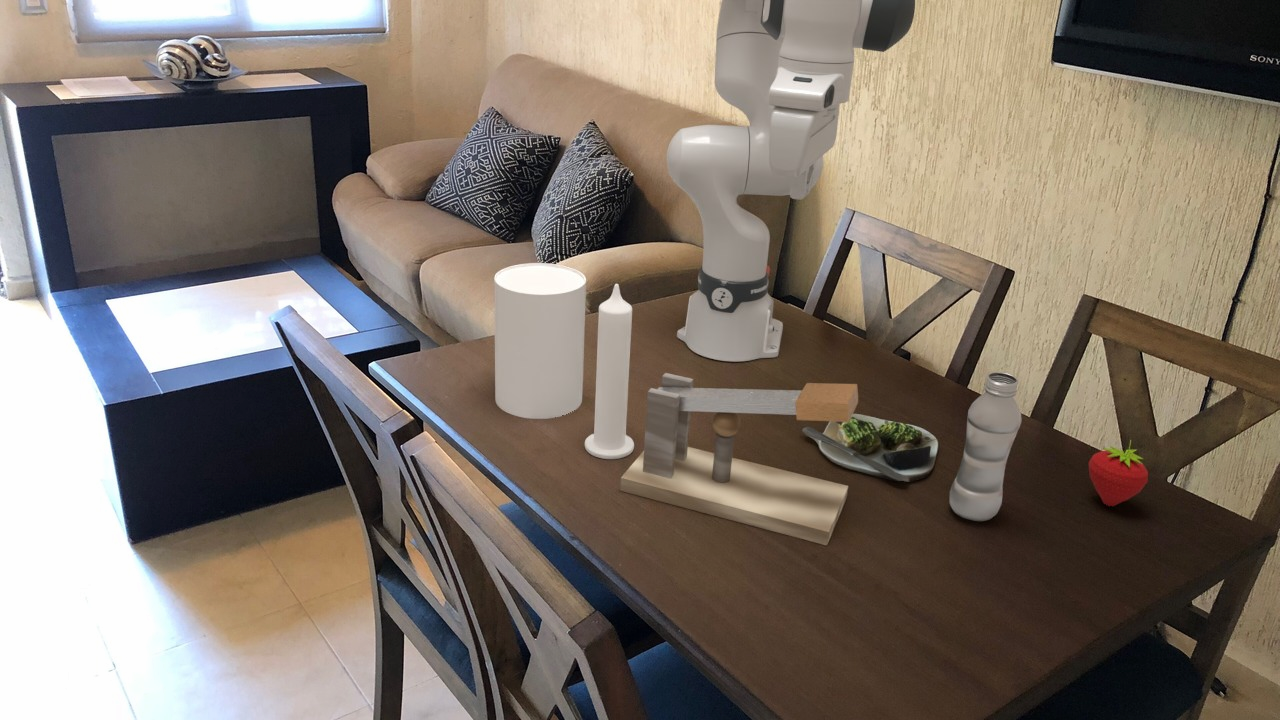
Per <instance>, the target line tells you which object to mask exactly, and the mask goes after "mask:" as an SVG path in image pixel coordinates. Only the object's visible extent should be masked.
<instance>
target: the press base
mask: <svg viewBox="0 0 1280 720" xmlns="http://www.w3.org/2000/svg"><path fill="white" fill-rule="evenodd" d="M660 387H675V388H694V378H691V377H685V376H682V375H676V374H672V373H667V372H665V373H664V374H663V375H662V376H661V386H660ZM679 400H680V394H675V393H671V392H666V391H662V390H658V388H653V387H651V388H650V389H649V390H648V391H647V398H646V414H645V416H646V417H645V429H644V443H643V451H642V452H641V453H640V455H638V457H637V458H636V459H635V461H633V463H632V464H631V465H630V466H629V467H628V468H627V470H626V471H625V472H624V473H623V475H622V476H621V477H620V484H619V485H620V487H619V489H620V491H621V492H624V493H628V494H631V495H634V496H639V497H642V498H643V497H644V498H646V499H650V500H655V501H657V502H662V503H665V504H669V505H672V506H673V505H674V506H677V507H680V508H685V509H688V510H692V511H696V512H698V513H703V514H706V515H710V516H714V517H717V518H721V519H726V520H729V521H733V522H736V523H740V524H744V525H749V526H751V527H752V526H753V527H756V528H759V529H763V530H766V531H769V532H770V531H771V532H775V533H779V534H782V535H787V536H789V537H793V538H796V539H801V540H804V541H808V542H812V543H816V544H820V545H822V546H823V545H824V546H828V545H829V541H830V539H831V537H832V535H833V532H834V530H835V527H836V524H837V522H838V520H839V518H840V515H841V513H842V510H843V508H844V505H845V503H846V500H847V497H848V492H849V485H845V484H842V483H837V482H834V481H830V480H825V479H821V478H817V477H813V476H809V475H804V474H801V473H797V472H792V471H788V470H785V469H780V468H776V467H774V466H773V467H772V466H768V465H764V464H760V463H756V462H751V461H747V460H744V459H739V458H735V457H733V452H734V442H735V434H737V433H738V431H739V430H740V427H741V418H740V416H739V415H738V413H728V412H715V414H714V416H713V419H712V427H713V430H714V431H715V432H716V433H715V441H714V442H715V444H714V451H713V452H712V451H711V452H710V451H706V450H703V449H699V448H695V447H690V446H689V445H688V444H689V436H690V435H689V433H690V422H691V413H692V411H679Z"/></svg>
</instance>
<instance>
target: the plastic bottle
mask: <svg viewBox="0 0 1280 720" xmlns="http://www.w3.org/2000/svg"><path fill="white" fill-rule="evenodd" d="M1018 385H1019V383H1018V378H1017V377H1016V376H1015V375H1012V374H1010V373H1006V372H1001V371H994V372H990V373H988V374H987V376H986V381H985V384H984V386H983V389H984V390H983V391H985V392H984V393H982V394H981V395H980V396H978V397H977V398H976V399H975V400H974V401H973V402H972V403H971V405H970V407H969V409H968V410H967V411H968V412H967V420H966V438H965V443H964V450H963V455H962V456H963V457H962V459H961V462H960V466H959V467H958V471H957V474H956V477H955V479H954V481H953V482H952V485H951V487H950V489H949V505H950V507H951V510H952V511H953V512H954V513H955V515H957V516H959V517H961V518H963V519H965V520H969V521H973V522H985V521H989V520H991V519H992V518H993V517H995V516H996V515H997V514H998V512H999V511H1000V508H1001V506H1002V504H1003V503H1002V502H1003V494H1004V492H1003V488H1004V487H1003V484H1004V478H1005V470H1006V465H1007V461H1008V457H1009V454H1010V452H1011V448H1012V445H1013V443H1014V441H1015V438H1016V436H1017V434H1018V431H1019V429H1020V427H1021V425H1022V412H1021V410H1020V408H1019V405H1018V404H1017V402H1016V400H1015V398H1014V397H1016V395H1017V391H1018V390H1017V389H1018Z"/></svg>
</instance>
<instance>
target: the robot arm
mask: <svg viewBox="0 0 1280 720" xmlns="http://www.w3.org/2000/svg"><path fill="white" fill-rule="evenodd" d="M915 9H916V0H721V2H720V8H719V14H718V20H717V26H716V27H717V29H716V38H715V39H716V40H715V41H716V42H715V44H716V45H715V65H714V86H715V87H714V88H715V91H717V93H718V96H720V97H721V99H723V100H724V101H725V102H726V103H727V104H729V105H731V106H732V107H734V108H736V109H738V110H739V111H740V112H742V113H743V114H744V115H745V116H746V118H747V120H748V122H749V125H747V126H741V125H739V126H737V125H722V124H721V125H720V124H702V125H695V126H689V127H683V128H680V129H679V130H678V131H677V132H675V134H674V135H673V137H672V138H671V140H670V142H669V144H668V147H667V150H666V156H665V157H666V158H665V160H666V167H667V171H668V174H669V176H670V178H671V179H672V181H673V183H675V184H676V185H677V186H678V187H679V188H680V189H681V190H682V191H683V192H685V194H686V195H687V196H688V197H689V198H690V200H691V201H692V202H693V203H694V205H695V207H696V209H697V211H698V212H699V216H700V218H701V219H700V220H701V223H702V231H703V234H702V235H703V251H702V252H703V253H702V254H703V255H702V264H701V265H702V266H700V268H699V273H698V275H697V282H698V283H697V288H698V290H697V291H695V292H694V293H692V294H691V295H690V296H689V299H688V305H687V313H686V320H685V326H683V327H682V328H680V329H678V330H677V332H676V337H677V338H678V339H680V340H681V341H683V342H684V343H685V345H687V347H688V348H689V349H690V350H691V351H692V352H693V353H695V354H697V355H700V356H702V357H704V358H708V359H713V360H715V361H716V360H717V361H722V362H746V361H747V362H748V361H753V360H756V359H757V360H758V359H764V358H765V359H767V358H769V359H770V358H777V357H778V356H779V353H780V349H781V344H782V343H781V341H782V335H783V331H784V324H783V323H784V322H783V321H780V320H778V319H776V318H773V314H774V299H773V298H772V297H771V295H770V294H769V293H768V290H769V278H768V277H769V276H770V271H771V268H770V266H769V265H768V258H769V249H770V239H771V237H770V235H771V234H770V231H769V227H768V226H767V225H766V224H765V222H764V221H763V220H762V219H761V218H759V217H758V216H756V215H754V214H753V213H751V212H750V211H747V210H746V209H744V208H743V207H741V206H740V205H739V204H738V203H737V198H738V196H741V195H756V196H757V195H759V196H760V195H761V196H779V197H780V196H789V197H790V198H791V199H793V200H800V201H801V200H804V198H806V196H808V195H809V193H810V191H811V190H812V188H814V186H815V185H816V184H817V182H818V180H820V177H821V176H822V171H823V168H824V156H825V154H827V153H828V152H829V151H830V150H831V149H832V148H834V146H835V142H836V139H837V134H838V125H839V124H838V123H839V116H840V115H839V113H840V105H841V104H844V103H847V102H849V101H850V100H849V99H850V95H851V88H852V87H851V86H852V79H853V70H854V64H855V51H854V50H855V49H862V50H867V51H871V52H872V51H873V52H881V53H885V52H886V51H888V50H889V49H891V48H892V47H893V46H895V45H896V44H898V43H899V42H900V41H901V40H902V39H903V38H904V37H905V36H906V35H908V33H909V31H910V30H911V27H912V25H913V24H912V23H913V21H914V18H915V11H916V10H915Z"/></svg>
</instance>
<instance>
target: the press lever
mask: <svg viewBox="0 0 1280 720" xmlns="http://www.w3.org/2000/svg"><path fill="white" fill-rule="evenodd" d="M657 389H658V390H662V391H666V392H671V393H675V394H680V400H679V411H691V412H702V413H703V412H704V413H717V412H728V413H737V414H757V415H759V414H760V415H761V414H763V415H764V414H765V415H787V416H788V415H790V416H791V415H792V416H793V415H794V416H795V415H796V421H813V422H815V421H816V422H817V421H818V422H830V421H838V422H849V420H850V418H851V416H852V414H854V412H855V410H856V408H857V405H858V403H859V392H858V391H859V390H858V383H825V382H824V383H821V382H820V383H819V382H814V383H813V382H807V383H806V384H805V385H804V387H803V389H802V390H799V389H797V390H796V389H792V390H790V389H756V388H755V389H753V388H713V387H712V388H711V387H708V388H705V387H693V388H675V387H661V386H659V387H658V388H657Z"/></svg>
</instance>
